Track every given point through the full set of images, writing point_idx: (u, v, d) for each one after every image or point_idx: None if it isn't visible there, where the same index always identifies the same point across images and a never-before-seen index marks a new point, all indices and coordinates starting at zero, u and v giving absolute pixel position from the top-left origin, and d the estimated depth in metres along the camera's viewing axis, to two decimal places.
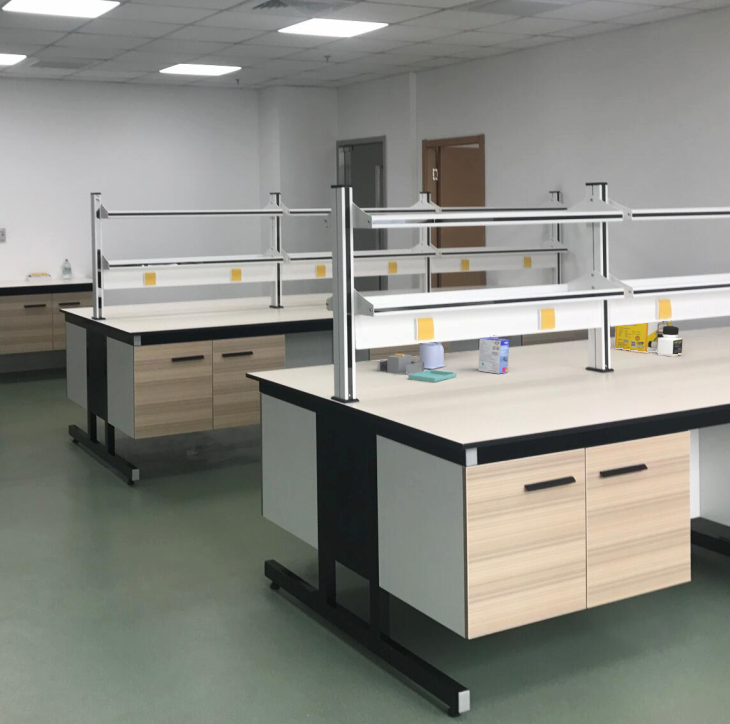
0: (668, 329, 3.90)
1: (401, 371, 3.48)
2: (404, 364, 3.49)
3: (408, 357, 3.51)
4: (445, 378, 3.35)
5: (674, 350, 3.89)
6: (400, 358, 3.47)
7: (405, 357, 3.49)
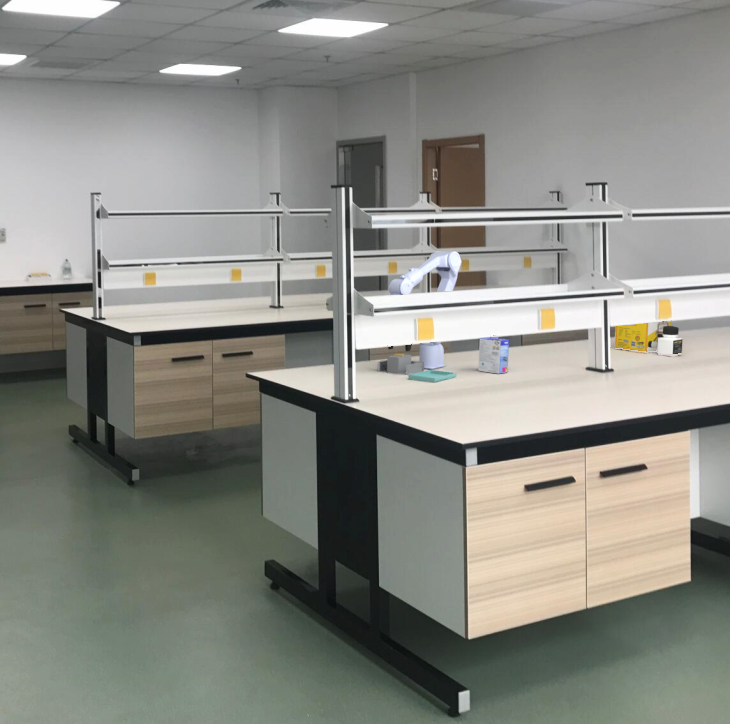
0: (668, 329, 3.90)
1: (401, 371, 3.48)
2: (403, 364, 3.49)
3: (408, 357, 3.51)
4: (445, 378, 3.35)
5: (674, 350, 3.89)
6: (400, 358, 3.47)
7: (405, 357, 3.49)
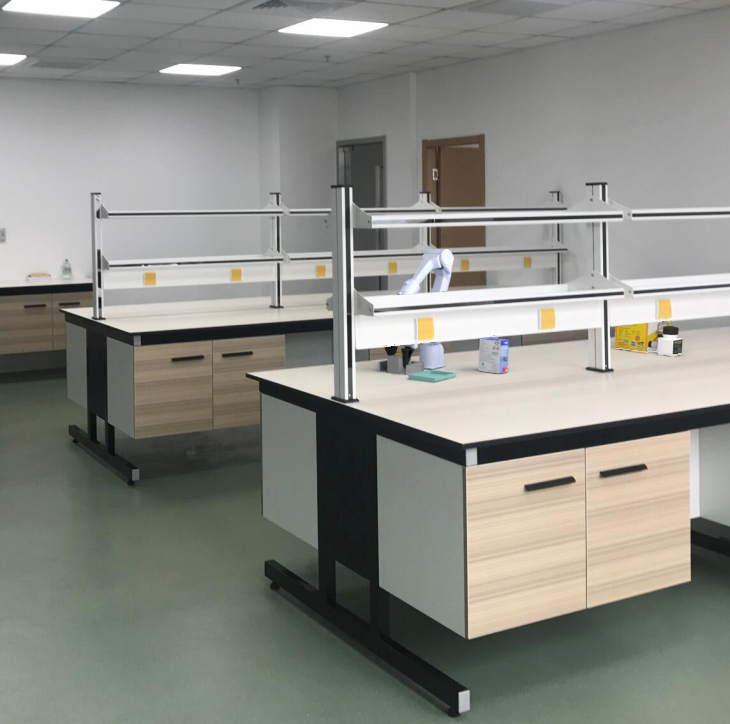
0: (668, 329, 3.90)
1: (401, 370, 3.48)
2: None
3: None
4: (445, 378, 3.35)
5: (674, 350, 3.89)
6: (400, 358, 3.47)
7: None
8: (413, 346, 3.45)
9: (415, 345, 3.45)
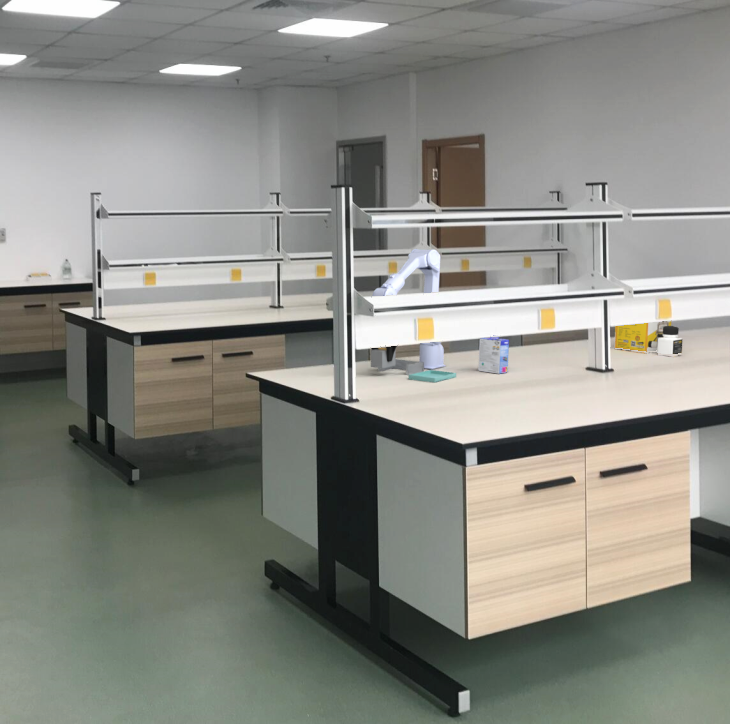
0: (668, 329, 3.90)
1: (385, 365, 3.40)
2: None
3: None
4: (445, 378, 3.35)
5: (674, 350, 3.89)
6: (384, 352, 3.39)
7: None
8: None
9: None
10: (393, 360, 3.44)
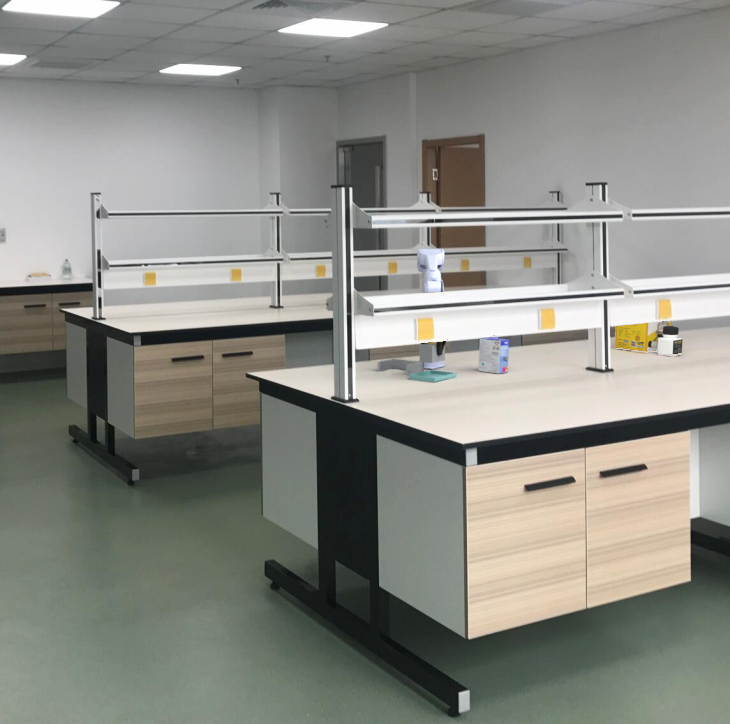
0: (668, 329, 3.90)
1: (435, 359, 3.34)
2: None
3: None
4: (445, 378, 3.35)
5: (674, 350, 3.89)
6: (434, 346, 3.33)
7: None
8: None
9: None
10: (442, 355, 3.38)
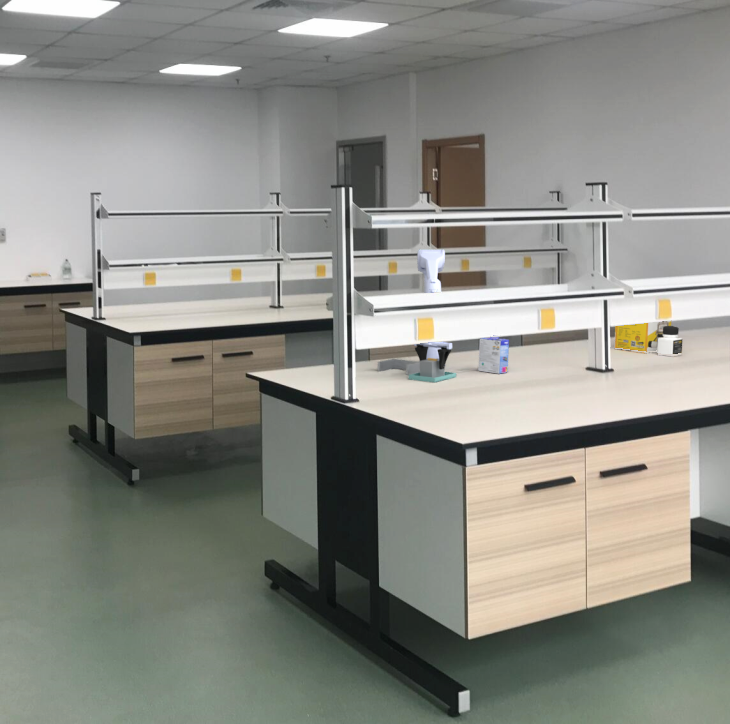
0: (668, 329, 3.90)
1: (434, 376, 3.35)
2: (437, 368, 3.36)
3: None
4: (445, 378, 3.35)
5: (674, 350, 3.89)
6: (433, 362, 3.34)
7: (438, 361, 3.36)
8: (448, 347, 3.32)
9: (450, 346, 3.32)
10: (442, 371, 3.39)
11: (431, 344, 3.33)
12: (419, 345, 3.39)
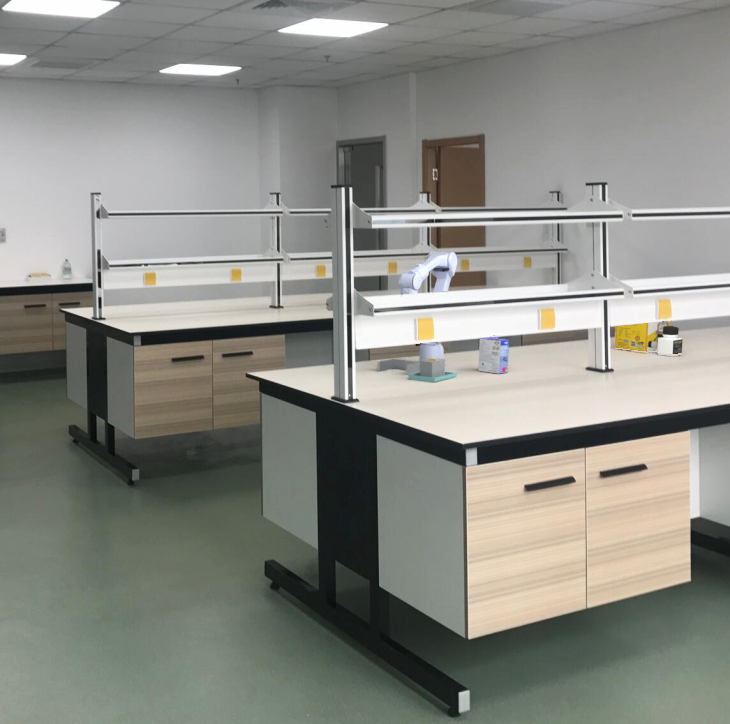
0: (668, 329, 3.90)
1: (434, 376, 3.35)
2: (437, 368, 3.36)
3: (441, 361, 3.38)
4: (445, 378, 3.35)
5: (674, 350, 3.89)
6: (433, 362, 3.34)
7: (438, 361, 3.36)
8: None
9: None
10: (442, 371, 3.39)
11: None
12: None
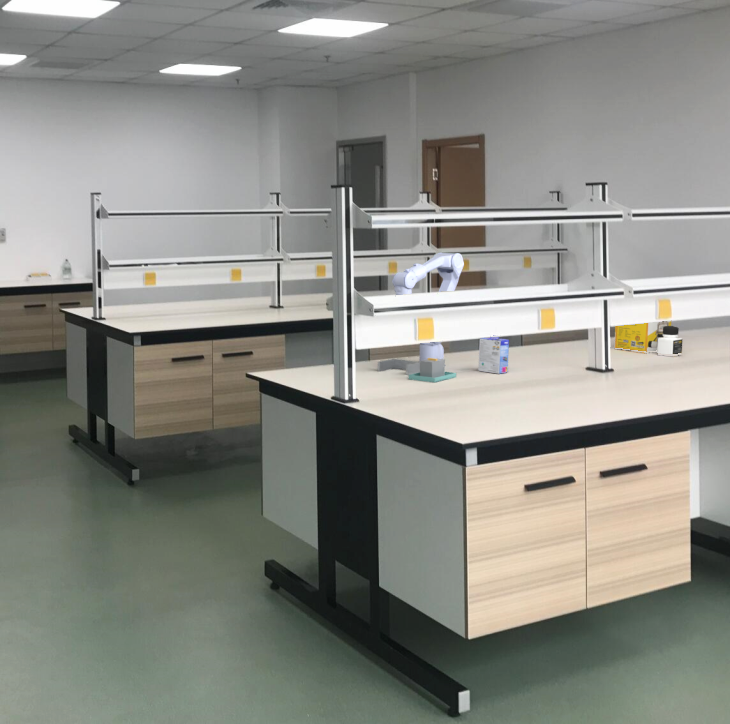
0: (668, 329, 3.90)
1: (434, 376, 3.35)
2: (437, 368, 3.36)
3: (441, 361, 3.38)
4: (445, 378, 3.35)
5: (674, 350, 3.89)
6: (433, 362, 3.34)
7: (438, 361, 3.36)
8: None
9: None
10: (442, 371, 3.39)
11: None
12: None
